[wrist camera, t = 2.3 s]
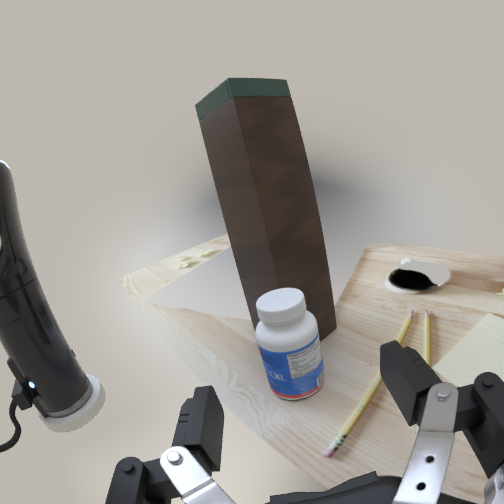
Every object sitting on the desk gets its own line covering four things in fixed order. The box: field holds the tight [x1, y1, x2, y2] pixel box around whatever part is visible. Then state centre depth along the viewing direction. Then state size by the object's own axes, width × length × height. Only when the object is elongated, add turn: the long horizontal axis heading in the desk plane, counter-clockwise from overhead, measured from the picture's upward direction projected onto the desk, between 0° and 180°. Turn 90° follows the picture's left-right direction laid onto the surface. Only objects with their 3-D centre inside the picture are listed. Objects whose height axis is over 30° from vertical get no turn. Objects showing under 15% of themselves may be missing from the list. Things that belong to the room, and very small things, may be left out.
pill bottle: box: [255, 288, 324, 400], centre depth 24 cm, size 6×5×10 cm
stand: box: [199, 96, 337, 341], centre depth 30 cm, size 7×7×27 cm
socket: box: [195, 78, 291, 121], centre depth 26 cm, size 7×7×2 cm
